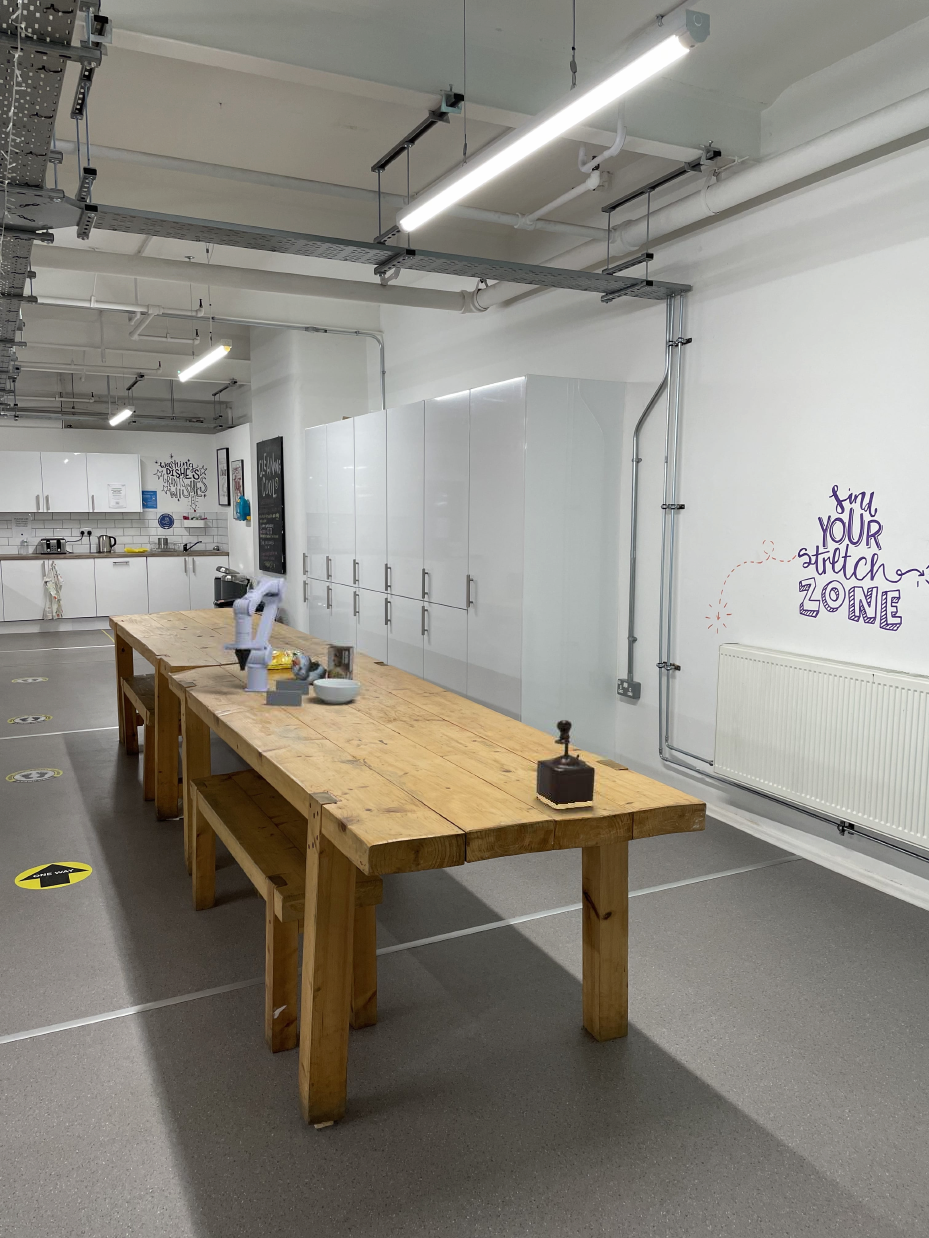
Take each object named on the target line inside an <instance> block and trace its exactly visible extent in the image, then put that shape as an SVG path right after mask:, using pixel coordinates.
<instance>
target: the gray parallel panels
mask: <svg viewBox="0 0 929 1238" xmlns="http://www.w3.org/2000/svg"><path fill="white" fill-rule="evenodd" d="M265 693H266V695H265V697H266V699H265V704H266V706H280V707H282V706H285V707H302V701H303V700H302V699H303V696H309V695H310V683H309V681H297V680H289V679H288V680H286V679H275V690H271V689H270V690H269V689H268V690H267V691H266V692H265Z"/></svg>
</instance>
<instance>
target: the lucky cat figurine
mask: <svg viewBox="0 0 929 1238" xmlns="http://www.w3.org/2000/svg"><path fill="white" fill-rule="evenodd" d="M289 666H290V672H291V673H292V675H293V677H295V678H296V680H295V681H309V685H313V683H314V681H316V680H320V679H327V668H325V667H324V666H323V664H321V663H319V660H318V659H316V660H314V661H312V659H311V657H310V655H309V654H305V653H304V652H300V653H299V654H298V653H297V652H292V658H291V661H290V662H289Z"/></svg>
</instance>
